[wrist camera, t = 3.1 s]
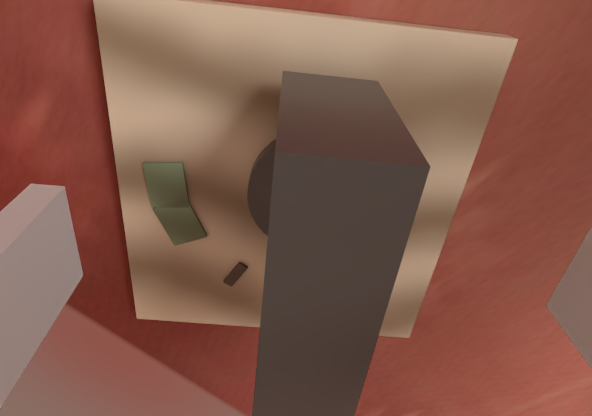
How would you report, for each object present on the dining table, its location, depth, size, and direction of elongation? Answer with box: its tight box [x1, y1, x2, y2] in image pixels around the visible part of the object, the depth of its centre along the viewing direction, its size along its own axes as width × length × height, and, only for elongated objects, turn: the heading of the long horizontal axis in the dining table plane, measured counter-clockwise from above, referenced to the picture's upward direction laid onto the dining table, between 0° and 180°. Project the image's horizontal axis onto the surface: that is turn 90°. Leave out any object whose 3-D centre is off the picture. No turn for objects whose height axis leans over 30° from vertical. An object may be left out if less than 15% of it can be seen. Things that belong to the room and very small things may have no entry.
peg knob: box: [247, 71, 430, 416], centre depth 18 cm, size 15×6×9 cm, turn 174°
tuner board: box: [93, 0, 518, 338], centre depth 23 cm, size 19×18×1 cm
